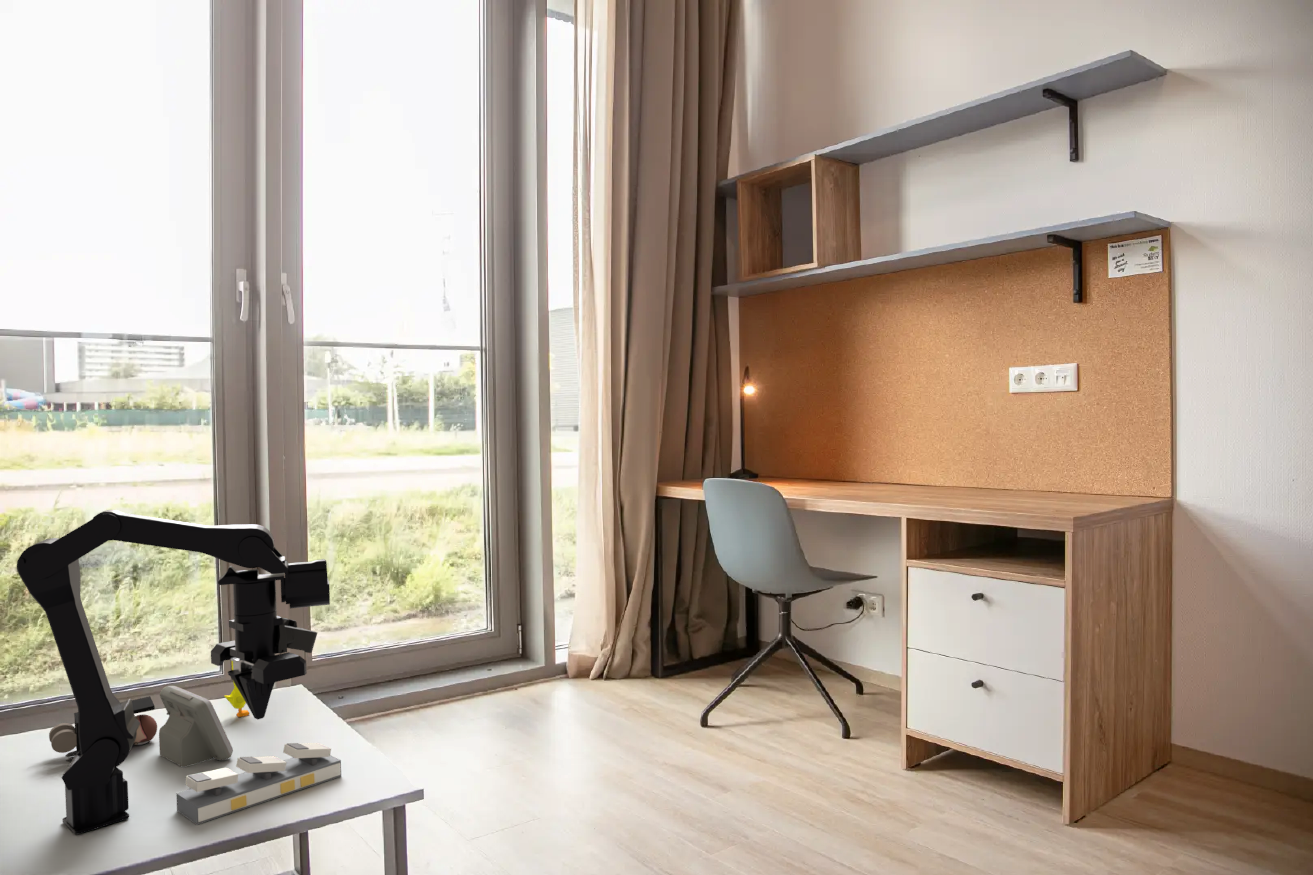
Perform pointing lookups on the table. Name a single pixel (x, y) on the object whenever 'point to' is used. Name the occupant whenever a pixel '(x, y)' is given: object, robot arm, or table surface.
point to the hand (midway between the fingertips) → (259, 718)
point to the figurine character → (68, 739)
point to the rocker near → (211, 779)
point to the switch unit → (256, 788)
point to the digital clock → (191, 729)
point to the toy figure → (237, 700)
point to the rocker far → (306, 750)
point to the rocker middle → (261, 764)
